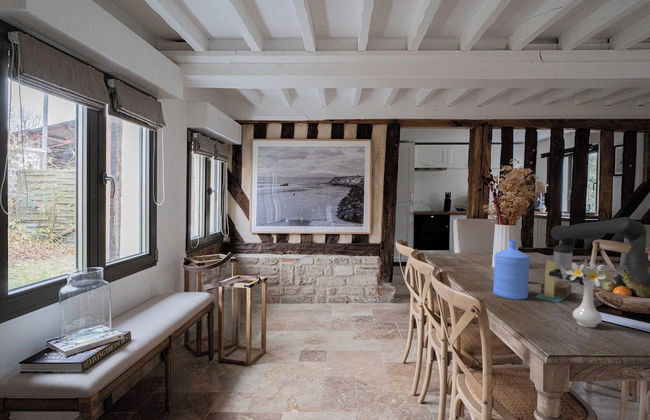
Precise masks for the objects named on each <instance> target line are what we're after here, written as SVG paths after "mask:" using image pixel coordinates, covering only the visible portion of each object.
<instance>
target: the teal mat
mask: <svg viewBox="0 0 650 420" xmlns="http://www.w3.org/2000/svg"><path fill="white" fill-rule="evenodd" d="M535 299H538V300H543V301H549V302H552V303H553V302H554V303H558V304H559V303H561V302H562V301H563V300H564V299H565V298H564V297H560V296H556V297H555V298H554V299H552V298H547V297H544V293H541V292H540V293H539V294H537V295H535Z"/></svg>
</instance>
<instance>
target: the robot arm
mask: <svg viewBox="0 0 650 420" xmlns="http://www.w3.org/2000/svg"><path fill="white" fill-rule="evenodd" d="M607 234H615V235H618V236H620V237H622V238H624V239H626V240H628V241H629V243H630V249H629V250H628V252H626V256H625V265H626V269H627V273H628V277H629V276H631V277H633V279H635V280H637V282H638V281H639V283H641V284H642V285H644V286H647V287H650V271H649V265H648V260H647V259H648V258H647V253H646V247H647V229H646V227H645V225H644V224H643V223H641V222H639V221H638V220H635V219H633V218H631V217H628V216H622V217H618V218H617V217H616V218H613V219H608V220H601V221H590V222H583V223H576V224H572V225H563V224H561V225H555V226H553V227H552V229H551V230H550V235H551V238H552V239H554V240H556V241H557V242H560V243H559V244H558V245H555V246H554V247H553V260H552V261H558V264H557V272H552V271H550V272H549V276H554V277H557V282H560V283H571V282H574V281H575V280H578V285H581V286H584V282H583V278H582V277H583V276H582V277H579V276H578V277H576V278H575V279H574V280H571V276H572V275H569V274H568V276H567V277H566V279H565V281H564V282H563V276H564V275H562V273H561V270H562V269H561V266H562V267H563V268H564V269H565V270H566V271H568V270H573V269H572V263H573V252H574V249H575V246H576V245H575V244H576V240H598V239H602V238H604V237H605V236H606V235H607ZM560 265H561V266H560ZM583 275H584V276H586V275H585V274H583ZM622 277H623V276H622V275H621V274H618V273H617V276H616V277H612V278H613V279H614V280H616V281H617V284H618V285H622ZM598 280H599V283H600V286H599V287H596V286H595V285H594V288H600V287H601V282H602V281H603V280H604V279H598ZM600 289H601V288H600Z"/></svg>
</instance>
